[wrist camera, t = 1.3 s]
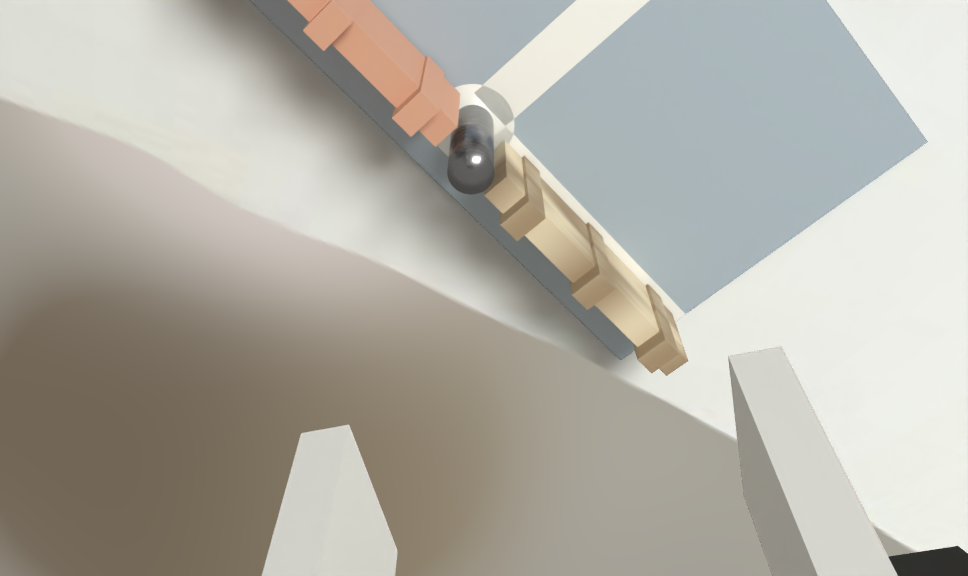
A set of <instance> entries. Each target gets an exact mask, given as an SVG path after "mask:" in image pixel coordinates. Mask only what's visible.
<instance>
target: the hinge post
mask: <svg viewBox="0 0 968 576" xmlns="http://www.w3.org/2000/svg"><path fill="white" fill-rule="evenodd" d="M494 174H495V171H494V123H493V118H492V116H491V114H490V113H489V112H488V111H487V110H486V109H485V108H483V107H481V106H478V105H467V106H464V107H462V108H461V109H459V117H458V127H457V128H456V129H455V130H454V131H452V132H451V138H450V149H449V159H448V169H447V175H448V179H449V182H450V184H451V185H452V186H453V187H454V188H455V189H456V190H457V191H459V192H461V193H464V194H470V195H473V194H478V193H481V192H483V191H485V190H486V189H487V188H488V187H489V186H490V185H491V183H492V182H493V179H494Z"/></svg>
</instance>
